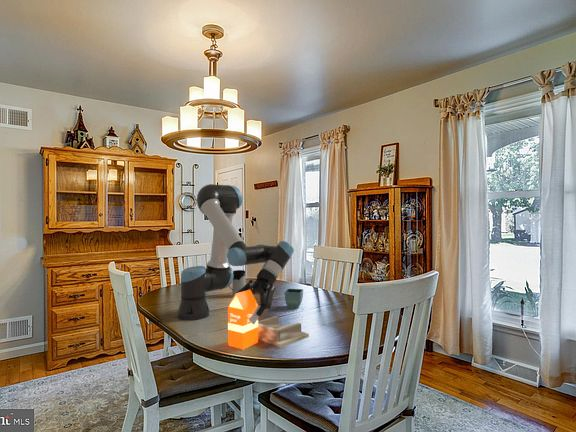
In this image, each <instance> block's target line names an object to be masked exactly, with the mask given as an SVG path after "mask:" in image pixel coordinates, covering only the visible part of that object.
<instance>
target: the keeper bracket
mask: <svg viewBox="0 0 576 432" xmlns="http://www.w3.org/2000/svg"><path fill="white" fill-rule="evenodd" d="M309 336H310V333H308V332H304V331H302V323H300V322H297V323H293V324H291V325H288V326H286V325H281V324H280V323H279V316H277V315H275V316H271V317H268V318H264V319H261V320H258V341H261V342H264V343H267V344H270V345H272V346H274V347H277V348H280V349H281V348H284V347H286V346H288V345H291V344H294V343H297V342H300V341H302V340H304V339H307V338H309Z"/></svg>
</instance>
